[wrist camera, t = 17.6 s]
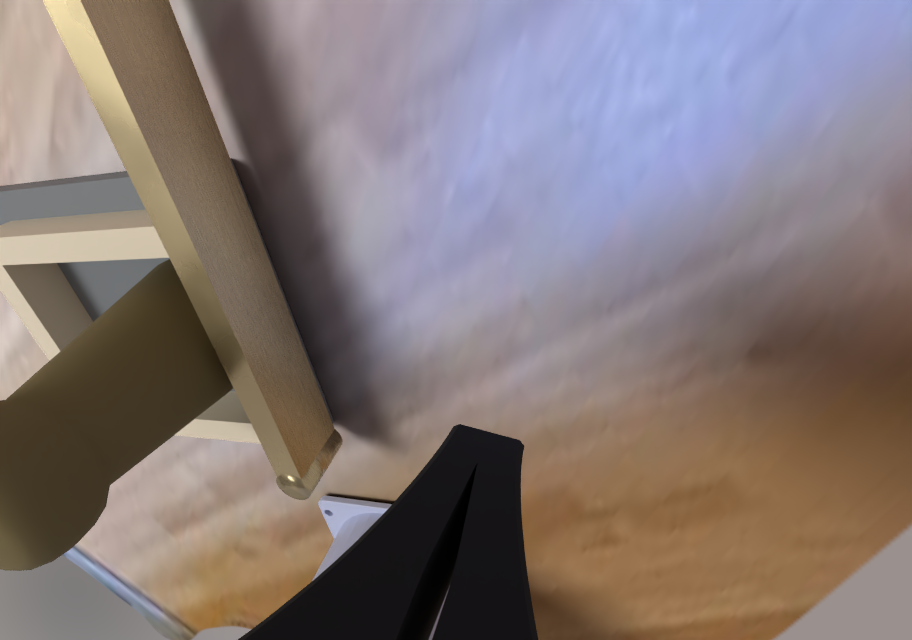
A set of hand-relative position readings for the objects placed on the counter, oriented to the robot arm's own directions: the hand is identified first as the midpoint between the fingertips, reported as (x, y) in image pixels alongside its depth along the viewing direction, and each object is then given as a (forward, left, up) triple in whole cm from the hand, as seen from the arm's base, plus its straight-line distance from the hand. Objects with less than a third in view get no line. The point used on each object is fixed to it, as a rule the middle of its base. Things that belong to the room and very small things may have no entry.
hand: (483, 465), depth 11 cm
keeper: (+2, +11, -8) cm, 14 cm away
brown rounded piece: (-2, +15, -9) cm, 17 cm away
